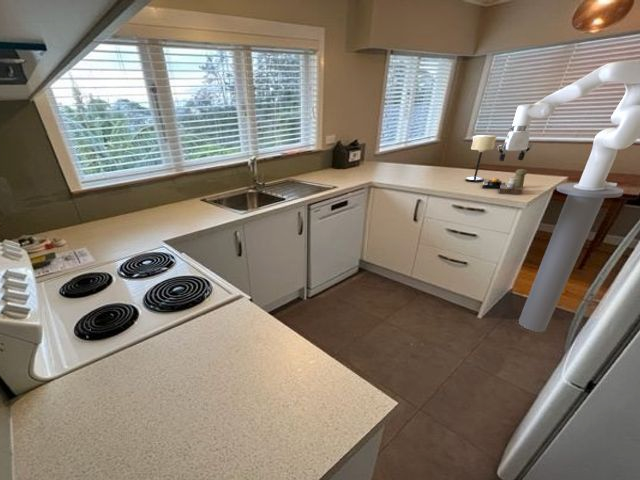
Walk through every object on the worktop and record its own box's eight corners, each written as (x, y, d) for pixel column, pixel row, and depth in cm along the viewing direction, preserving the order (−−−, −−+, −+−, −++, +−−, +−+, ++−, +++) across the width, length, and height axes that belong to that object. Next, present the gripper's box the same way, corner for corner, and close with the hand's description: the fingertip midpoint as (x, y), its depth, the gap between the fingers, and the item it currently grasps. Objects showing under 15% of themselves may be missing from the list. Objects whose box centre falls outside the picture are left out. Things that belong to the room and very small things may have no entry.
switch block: (504, 186, 188) (506, 179, 186) (504, 189, 182) (506, 183, 180) (483, 185, 194) (484, 178, 192) (482, 188, 188) (483, 181, 186)
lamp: (485, 179, 206) (496, 134, 193) (484, 183, 198) (496, 136, 185) (464, 178, 213) (474, 135, 200) (463, 182, 204) (473, 137, 192)
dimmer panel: (520, 191, 176) (521, 185, 175) (520, 194, 170) (522, 189, 169) (499, 189, 182) (500, 184, 181) (498, 193, 176) (500, 188, 174)
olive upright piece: (510, 188, 183) (515, 170, 178) (510, 186, 187) (515, 168, 182) (522, 189, 179) (528, 170, 175) (522, 186, 184) (528, 168, 179)
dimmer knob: (515, 188, 172) (518, 178, 170) (506, 187, 174) (509, 178, 172) (515, 186, 175) (518, 177, 172) (506, 186, 177) (509, 176, 175)
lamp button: (498, 181, 187) (499, 178, 186) (498, 182, 184) (499, 179, 183) (491, 180, 189) (492, 177, 188) (491, 181, 186) (492, 179, 185)
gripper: (506, 130, 164) (497, 162, 172) (542, 128, 161) (531, 160, 169) (498, 129, 171) (490, 160, 178) (533, 127, 168) (523, 158, 175)
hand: (510, 160), depth 174 cm, fingers open, 9 cm apart
